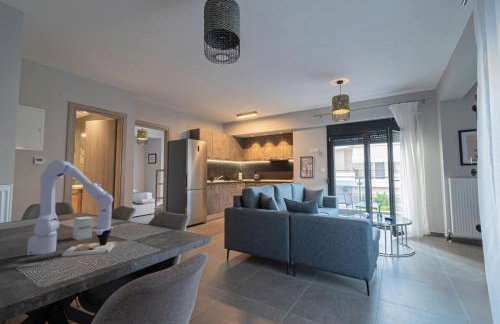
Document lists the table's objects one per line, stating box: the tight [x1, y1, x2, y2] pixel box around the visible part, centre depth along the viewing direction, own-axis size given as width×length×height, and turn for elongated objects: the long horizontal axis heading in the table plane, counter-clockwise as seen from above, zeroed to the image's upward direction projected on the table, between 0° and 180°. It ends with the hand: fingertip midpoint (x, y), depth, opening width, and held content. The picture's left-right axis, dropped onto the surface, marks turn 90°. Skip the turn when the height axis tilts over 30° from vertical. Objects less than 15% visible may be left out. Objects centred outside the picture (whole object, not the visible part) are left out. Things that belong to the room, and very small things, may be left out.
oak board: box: [75, 241, 119, 249], centre depth 116 cm, size 18×9×1 cm, turn 107°
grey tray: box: [61, 244, 115, 257], centre depth 107 cm, size 18×10×2 cm, turn 107°
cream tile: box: [92, 245, 108, 250], centre depth 110 cm, size 5×5×2 cm
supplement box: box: [72, 216, 94, 241], centre depth 130 cm, size 7×7×13 cm
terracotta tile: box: [72, 246, 91, 252], centre depth 108 cm, size 5×5×2 cm
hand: (103, 246), depth 113 cm, fingers closed
